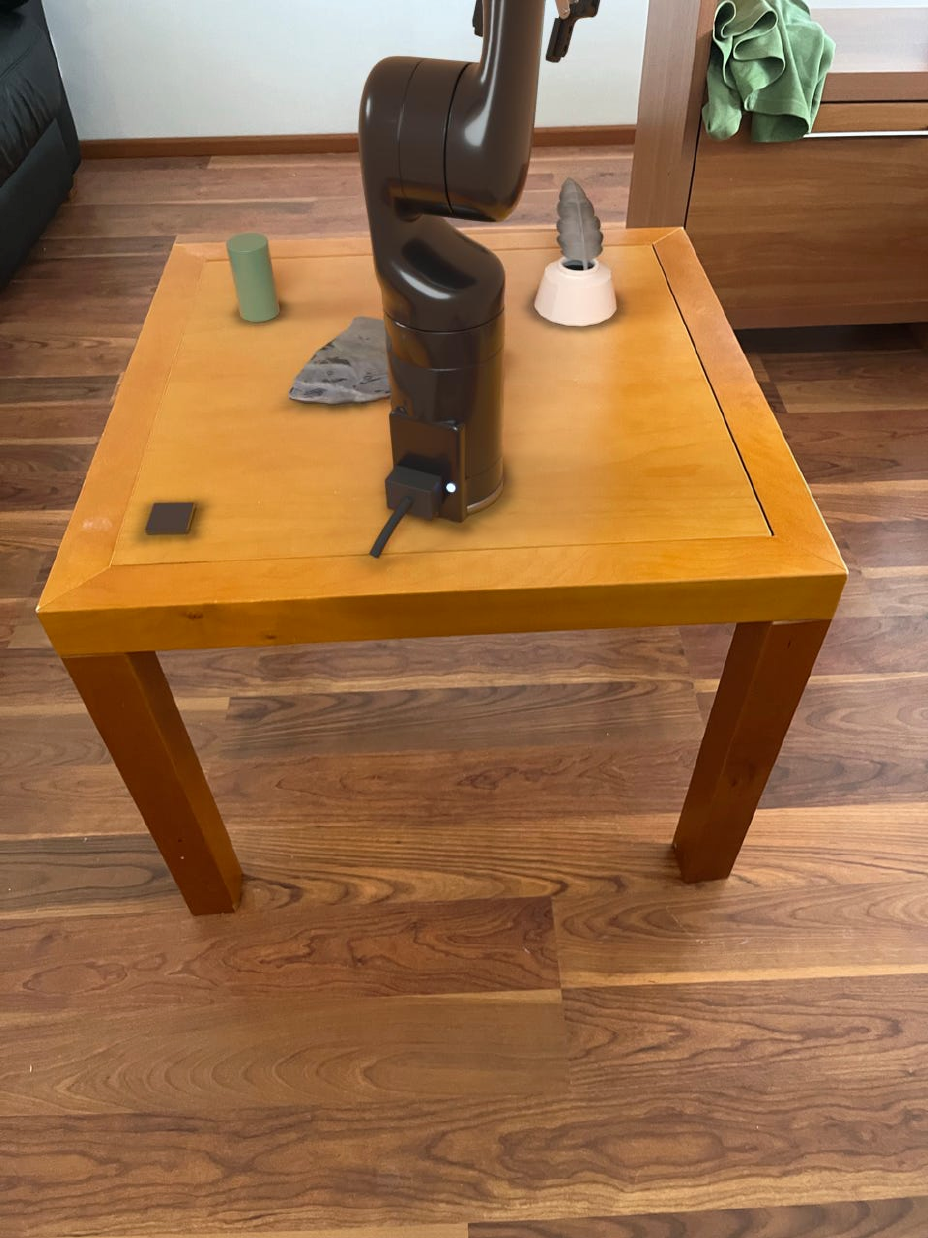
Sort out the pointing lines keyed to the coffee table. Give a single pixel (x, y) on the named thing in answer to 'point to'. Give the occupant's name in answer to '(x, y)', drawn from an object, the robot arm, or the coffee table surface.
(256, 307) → the sage green cylinder
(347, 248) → the coffee table surface
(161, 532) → the coaster
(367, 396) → the fossil rock
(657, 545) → the coffee table surface
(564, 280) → the inkwell
